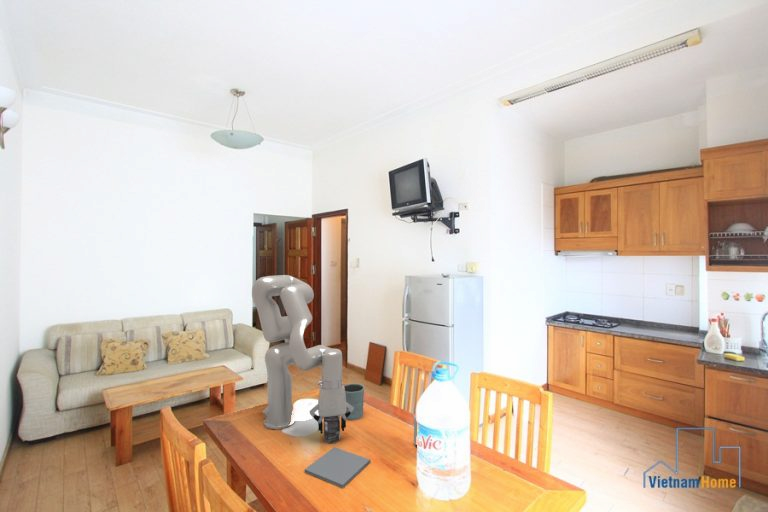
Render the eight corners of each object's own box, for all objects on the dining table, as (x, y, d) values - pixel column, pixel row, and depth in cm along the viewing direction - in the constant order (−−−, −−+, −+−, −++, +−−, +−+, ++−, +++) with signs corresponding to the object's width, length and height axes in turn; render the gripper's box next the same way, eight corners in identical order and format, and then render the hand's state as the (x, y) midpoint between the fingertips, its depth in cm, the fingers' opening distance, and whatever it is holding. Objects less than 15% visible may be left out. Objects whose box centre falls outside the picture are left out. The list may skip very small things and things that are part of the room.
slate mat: (304, 472, 112) (304, 469, 112) (334, 449, 125) (334, 446, 125) (342, 488, 104) (342, 484, 104) (370, 462, 117) (370, 459, 117)
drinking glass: (363, 421, 146) (363, 392, 146) (338, 421, 147) (338, 391, 146) (364, 410, 157) (364, 383, 156) (342, 410, 157) (342, 383, 157)
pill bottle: (342, 436, 134) (342, 406, 134) (336, 444, 128) (336, 413, 128) (327, 434, 135) (327, 405, 135) (321, 442, 130) (321, 411, 130)
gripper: (308, 389, 126) (308, 439, 126) (357, 384, 130) (357, 432, 130) (307, 381, 133) (307, 429, 133) (353, 377, 137) (353, 423, 138)
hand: (332, 430), depth 132 cm, fingers open, 7 cm apart
